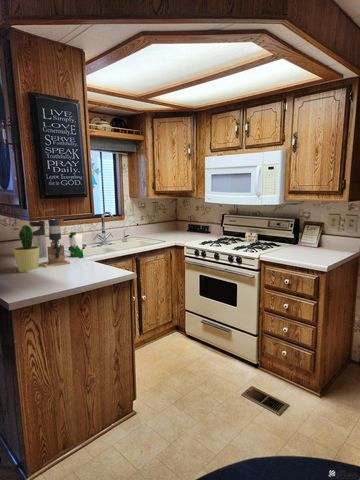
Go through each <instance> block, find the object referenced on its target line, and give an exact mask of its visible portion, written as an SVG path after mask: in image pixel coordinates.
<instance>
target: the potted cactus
mask: <svg viewBox="0 0 360 480" xmlns="http://www.w3.org/2000/svg"><path fill="white" fill-rule="evenodd" d="M32 232H33V228H32V226H30V225H28V224H26V225H25V224H23V225H22V226H21V228H20V230H19V233H18V235H17V236H18V238H19V241H20V243H21V246H18V247H15V248H13V254H14V257H15V261H16V264H17V270H18V272H19V273H27V271H28V272H29V271H34V270H37V269H39V264H40V258H39V251H40V247H39V246H33V243H34V242H33V235H32ZM33 234H34V233H33Z"/></svg>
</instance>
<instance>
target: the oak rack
mask: <svg viewBox="0 0 360 480" xmlns="http://www.w3.org/2000/svg"><path fill="white" fill-rule="evenodd" d="M45 262H46V261H44V262H41V263H40V265H41V266H42V267H45V268H50V267H51V268H52V267H57V266H65V265H70V264H71V262H70V261H68V259H67V260H66V259H65V262H64V263H57V264H50V265H46V264H45Z"/></svg>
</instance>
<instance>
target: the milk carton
mask: <svg viewBox="0 0 360 480" xmlns="http://www.w3.org/2000/svg"><path fill="white" fill-rule="evenodd" d="M69 233H70V234H68V240H69V251H70V252H69V255H70V258H78V259H82V258H84V252H83V251H84V249H83V235H84V234H80V233H76V231H72V232H71V231H70V232H69Z"/></svg>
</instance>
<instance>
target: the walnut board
mask: <svg viewBox="0 0 360 480" xmlns="http://www.w3.org/2000/svg"><path fill="white" fill-rule="evenodd" d="M46 250H47V262H48V263H49V265H50V264H57V263H64V262H65V260H66V257H65V256H66V255H65V245H63V244H61V249H60V252H59V258H56V257H55V249H54V246H51V245H50V246H46Z"/></svg>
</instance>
